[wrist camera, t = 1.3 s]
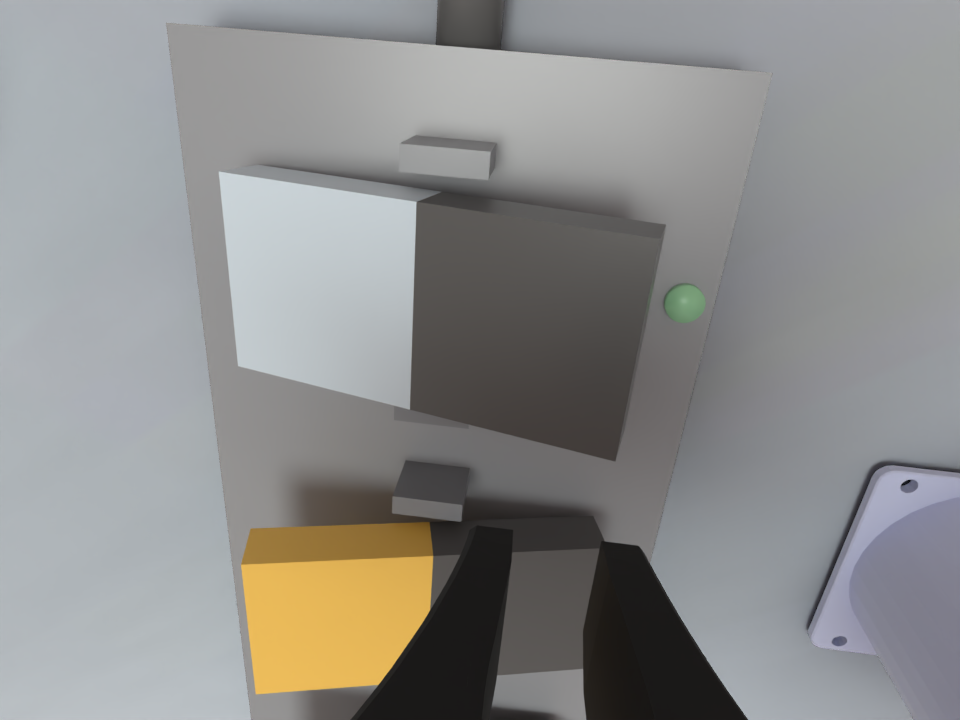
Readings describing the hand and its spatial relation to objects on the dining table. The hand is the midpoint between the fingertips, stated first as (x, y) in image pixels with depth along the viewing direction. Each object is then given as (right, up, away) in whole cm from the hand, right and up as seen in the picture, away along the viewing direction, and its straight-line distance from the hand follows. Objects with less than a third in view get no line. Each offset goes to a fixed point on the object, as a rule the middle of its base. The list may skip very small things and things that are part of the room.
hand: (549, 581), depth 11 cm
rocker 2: (-3, -3, +9) cm, 10 cm away
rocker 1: (-2, +5, +5) cm, 8 cm away
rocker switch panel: (-2, 0, +12) cm, 12 cm away
